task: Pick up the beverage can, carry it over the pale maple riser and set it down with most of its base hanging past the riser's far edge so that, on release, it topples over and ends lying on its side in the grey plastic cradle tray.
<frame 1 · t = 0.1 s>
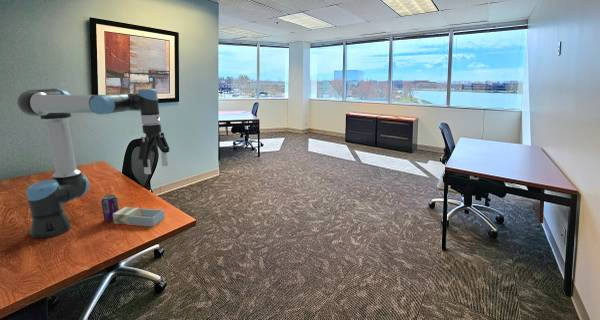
hand: (156, 169, 151), 28 cm above the table, fingers open, 13 cm apart
beverage can: (112, 219, 165), on the table
maple riser: (127, 220, 164), on the table
cradle tray: (147, 221, 162), on the table
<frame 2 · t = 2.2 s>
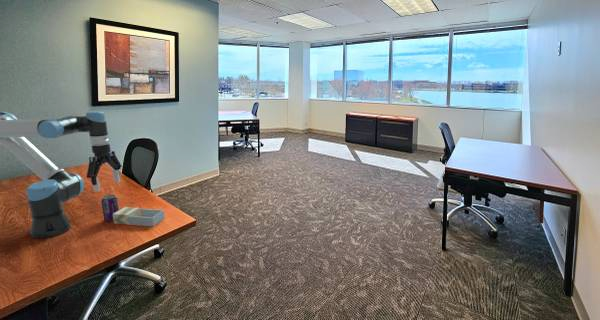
hand: (107, 186, 161), 17 cm above the table, fingers open, 13 cm apart
nothing on the table moved.
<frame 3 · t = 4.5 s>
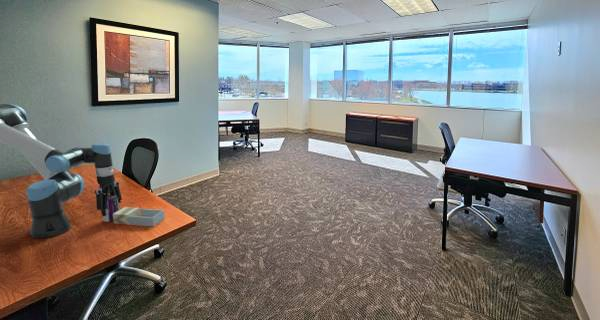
hand: (112, 217, 165), 1 cm above the table, fingers closed on beverage can, 7 cm apart
beverage can: (112, 219, 165), on the table, touching gripper
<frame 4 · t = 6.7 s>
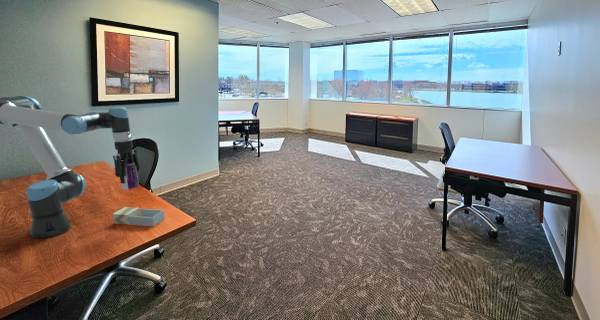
hand: (130, 186, 159), 18 cm above the table, fingers closed on beverage can, 7 cm apart
beverage can: (131, 188, 159), point 17 cm above the table, touching gripper
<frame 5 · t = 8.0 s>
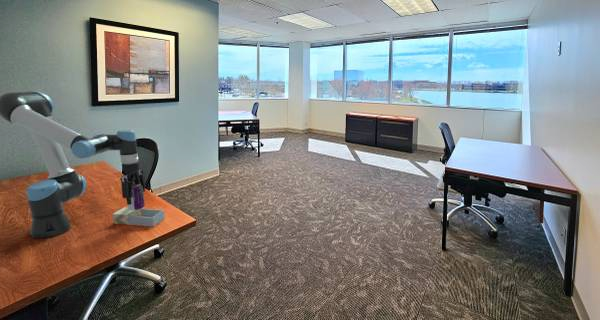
hand: (136, 207, 161), 7 cm above the table, fingers closed on beverage can, 7 cm apart
beverage can: (137, 208, 161), point 7 cm above the table, touching gripper
when the fingers open (7 cm above the table, at t = 8.8 s): beverage can drops 2 cm, resting on cradle tray.
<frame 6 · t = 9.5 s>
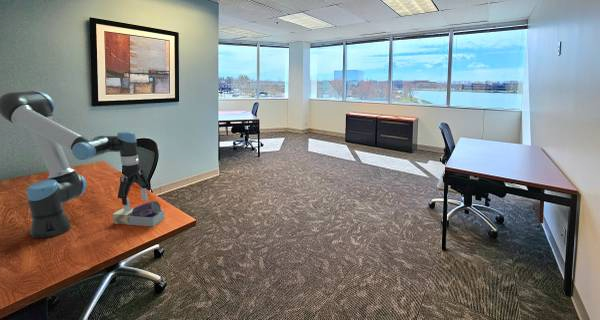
hand: (136, 205, 161), 8 cm above the table, fingers open, 13 cm apart
beverage can: (136, 214, 161), point 4 cm above the table, touching cradle tray
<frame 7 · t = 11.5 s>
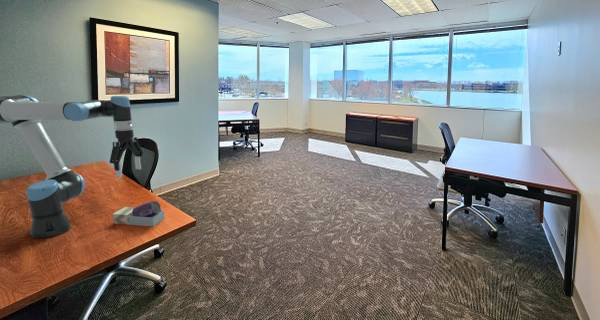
hand: (129, 172, 158), 25 cm above the table, fingers open, 13 cm apart
nothing on the table moved.
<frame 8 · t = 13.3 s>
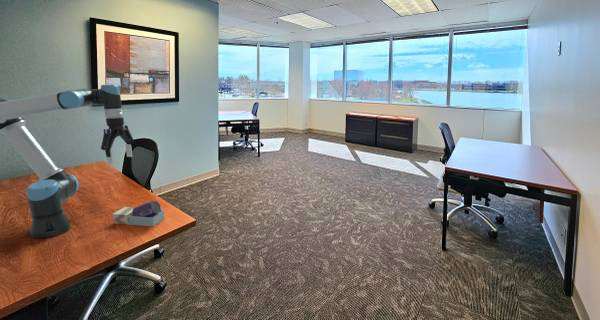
hand: (120, 159, 163), 30 cm above the table, fingers open, 13 cm apart
nothing on the table moved.
at the end: beverage can tilted 68°; beverage can inside the target area (6.1 cm from its centre), point 3.6 cm above the table; the gripper is holding nothing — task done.
